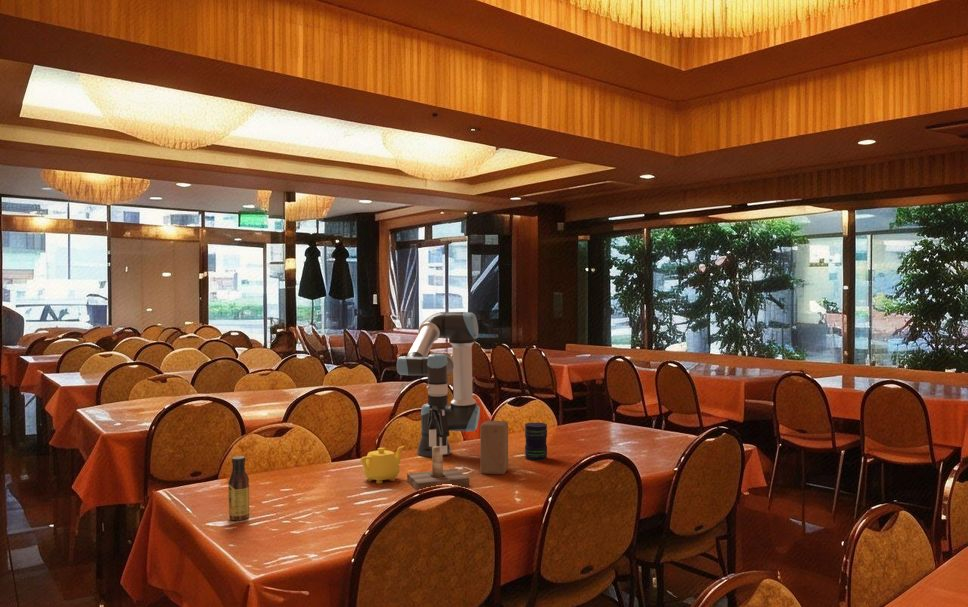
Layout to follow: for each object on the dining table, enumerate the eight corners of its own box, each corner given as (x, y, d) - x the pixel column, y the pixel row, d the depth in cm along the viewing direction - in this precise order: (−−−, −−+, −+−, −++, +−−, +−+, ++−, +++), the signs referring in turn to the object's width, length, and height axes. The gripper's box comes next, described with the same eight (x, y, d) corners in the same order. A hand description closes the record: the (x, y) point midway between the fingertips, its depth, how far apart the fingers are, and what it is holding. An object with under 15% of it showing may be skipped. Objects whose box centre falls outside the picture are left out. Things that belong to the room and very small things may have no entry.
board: (407, 481, 266) (407, 473, 266) (456, 476, 274) (456, 468, 274) (417, 491, 252) (417, 483, 252) (469, 486, 260) (469, 478, 260)
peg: (430, 483, 264) (430, 446, 264) (441, 481, 266) (441, 445, 266) (433, 485, 260) (433, 448, 260) (444, 484, 262) (444, 447, 262)
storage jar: (521, 459, 302) (521, 425, 302) (528, 455, 311) (528, 421, 311) (543, 461, 298) (543, 427, 298) (550, 456, 307) (550, 423, 307)
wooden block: (504, 475, 275) (504, 425, 275) (479, 474, 277) (479, 424, 277) (508, 469, 285) (508, 421, 285) (484, 468, 287) (484, 420, 287)
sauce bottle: (231, 515, 225) (231, 454, 225) (251, 515, 225) (251, 454, 225) (226, 522, 218) (225, 459, 218) (246, 521, 219) (246, 458, 219)
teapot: (413, 478, 271) (413, 446, 271) (371, 487, 258) (371, 454, 258) (393, 472, 281) (393, 441, 281) (351, 480, 268) (351, 449, 268)
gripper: (419, 390, 273) (419, 443, 274) (438, 400, 250) (438, 458, 250) (437, 389, 276) (437, 442, 276) (457, 399, 253) (458, 456, 253)
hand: (438, 450), depth 263 cm, fingers open, 13 cm apart
